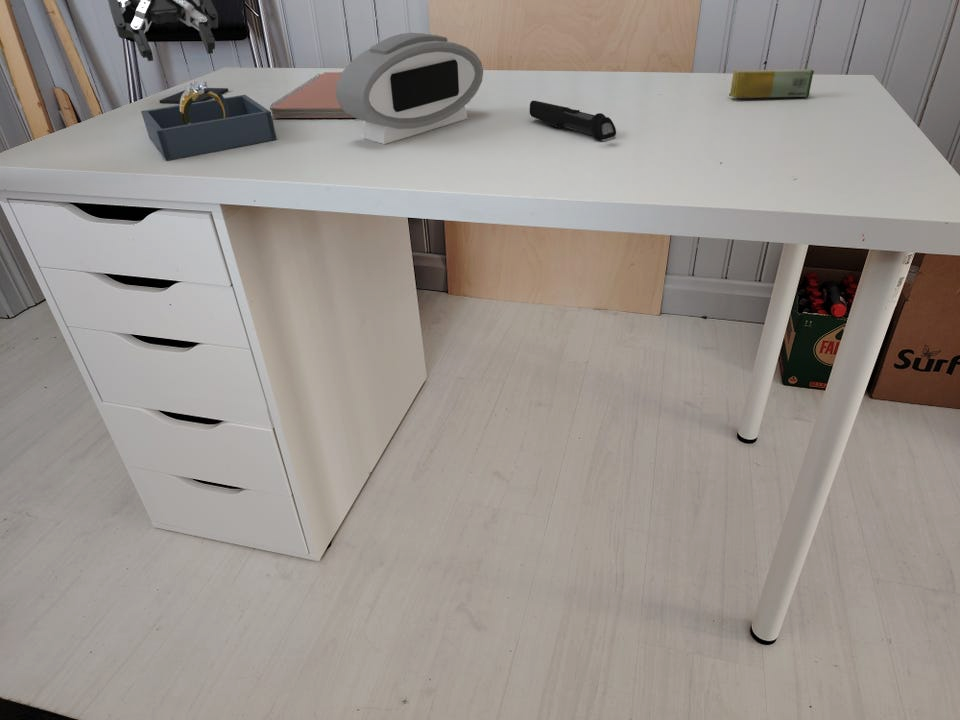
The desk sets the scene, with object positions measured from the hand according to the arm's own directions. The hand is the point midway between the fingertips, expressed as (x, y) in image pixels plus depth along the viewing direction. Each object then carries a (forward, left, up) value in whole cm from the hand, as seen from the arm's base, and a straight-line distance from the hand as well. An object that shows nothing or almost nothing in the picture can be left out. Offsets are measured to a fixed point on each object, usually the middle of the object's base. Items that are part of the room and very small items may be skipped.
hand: (181, 53), depth 96 cm
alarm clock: (+27, -22, -11) cm, 36 cm away
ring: (0, -7, -11) cm, 13 cm away
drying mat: (+4, +24, -11) cm, 27 cm away
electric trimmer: (+44, -37, -11) cm, 59 cm away
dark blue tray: (0, -7, -11) cm, 13 cm away
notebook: (+25, +4, -11) cm, 28 cm away
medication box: (+80, -43, -11) cm, 91 cm away
